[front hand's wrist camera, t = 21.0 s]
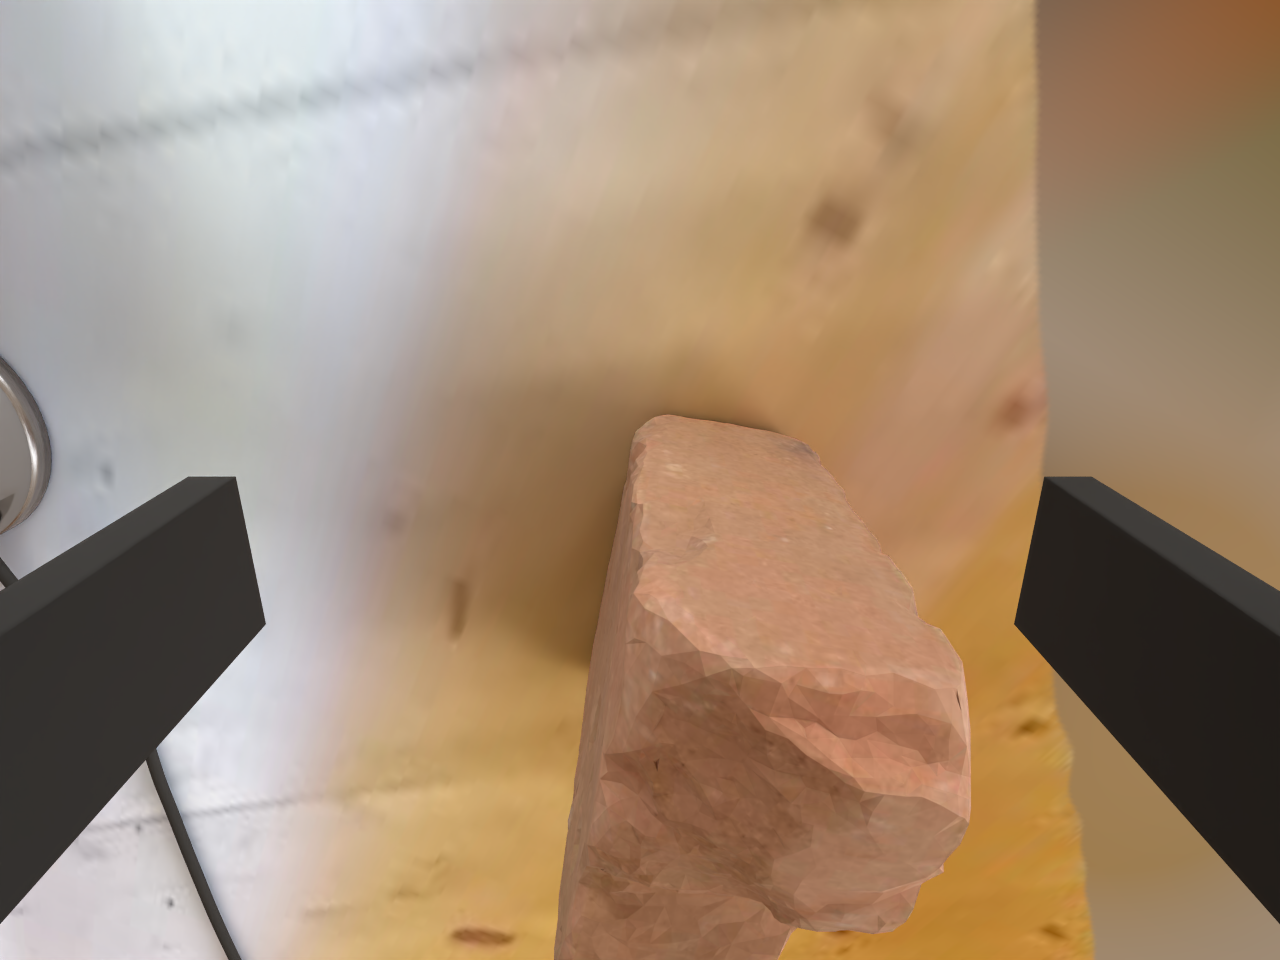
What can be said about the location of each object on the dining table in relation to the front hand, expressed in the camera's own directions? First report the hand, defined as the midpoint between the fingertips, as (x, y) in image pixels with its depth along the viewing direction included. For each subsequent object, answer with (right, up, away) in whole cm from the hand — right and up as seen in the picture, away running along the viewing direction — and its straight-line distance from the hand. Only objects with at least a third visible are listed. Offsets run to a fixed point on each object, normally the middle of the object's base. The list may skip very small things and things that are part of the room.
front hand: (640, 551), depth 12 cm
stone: (+3, -4, +38) cm, 38 cm away
